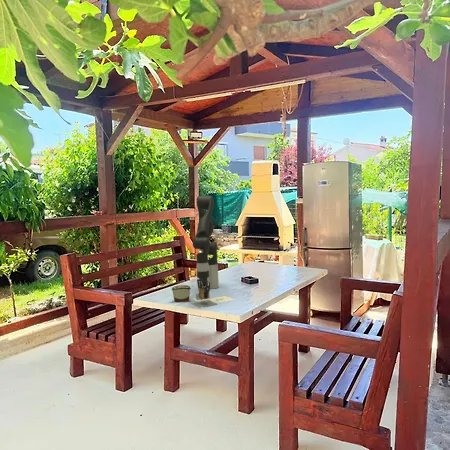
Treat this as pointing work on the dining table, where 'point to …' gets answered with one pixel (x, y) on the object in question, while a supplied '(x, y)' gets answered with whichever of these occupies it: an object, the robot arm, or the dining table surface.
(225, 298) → the plaque
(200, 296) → the block
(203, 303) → the mat
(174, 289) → the food container
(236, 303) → the dining table surface
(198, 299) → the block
